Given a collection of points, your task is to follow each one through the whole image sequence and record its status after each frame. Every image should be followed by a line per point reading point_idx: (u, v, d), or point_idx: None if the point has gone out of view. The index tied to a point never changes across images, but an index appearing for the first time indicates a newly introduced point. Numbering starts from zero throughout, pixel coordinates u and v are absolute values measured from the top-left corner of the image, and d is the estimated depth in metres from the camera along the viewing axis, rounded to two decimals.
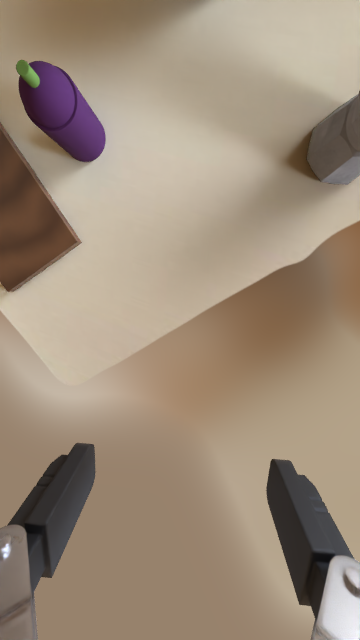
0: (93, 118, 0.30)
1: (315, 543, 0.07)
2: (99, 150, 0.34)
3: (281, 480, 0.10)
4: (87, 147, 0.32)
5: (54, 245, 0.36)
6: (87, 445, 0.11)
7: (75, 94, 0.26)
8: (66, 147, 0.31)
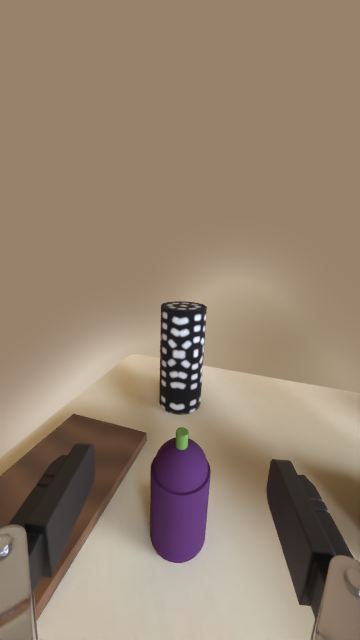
0: (200, 522, 0.24)
1: (315, 543, 0.07)
2: (178, 557, 0.24)
3: (281, 480, 0.10)
4: (170, 536, 0.23)
5: None
6: (87, 445, 0.11)
7: (202, 485, 0.23)
8: (152, 512, 0.25)
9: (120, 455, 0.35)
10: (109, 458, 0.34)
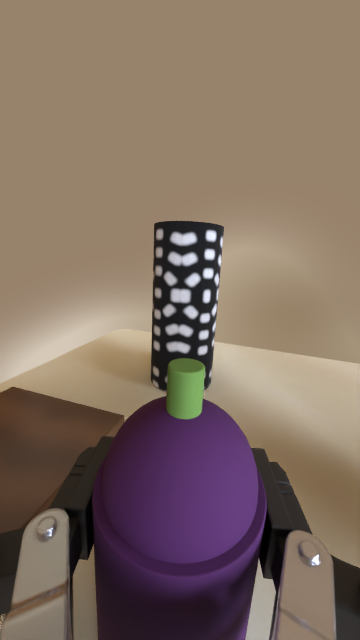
0: None
1: (277, 520, 0.08)
2: None
3: None
4: None
5: None
6: (113, 437, 0.11)
7: (250, 534, 0.07)
8: (97, 603, 0.08)
9: (69, 451, 0.19)
10: (46, 455, 0.18)
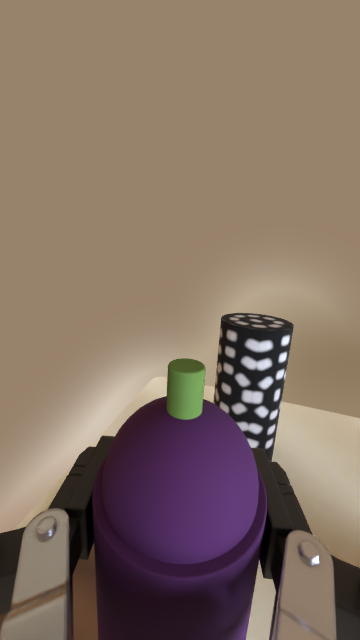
0: None
1: (277, 520, 0.08)
2: None
3: None
4: None
5: None
6: (113, 438, 0.11)
7: (251, 535, 0.07)
8: (97, 604, 0.08)
9: None
10: None
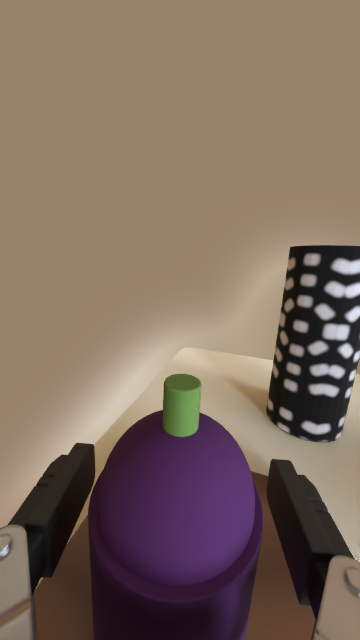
0: None
1: (315, 543, 0.07)
2: None
3: (281, 480, 0.10)
4: None
5: None
6: (87, 445, 0.11)
7: (247, 554, 0.07)
8: (94, 621, 0.08)
9: None
10: (266, 563, 0.14)
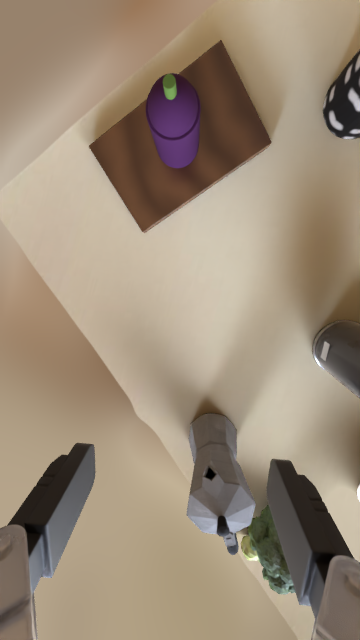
0: (177, 156, 0.32)
1: (315, 543, 0.07)
2: (163, 161, 0.35)
3: (281, 480, 0.10)
4: (157, 148, 0.32)
5: (138, 207, 0.37)
6: (87, 445, 0.11)
7: (176, 138, 0.27)
8: None
9: (232, 155, 0.35)
10: (221, 152, 0.35)
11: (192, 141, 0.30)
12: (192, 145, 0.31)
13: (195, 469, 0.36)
